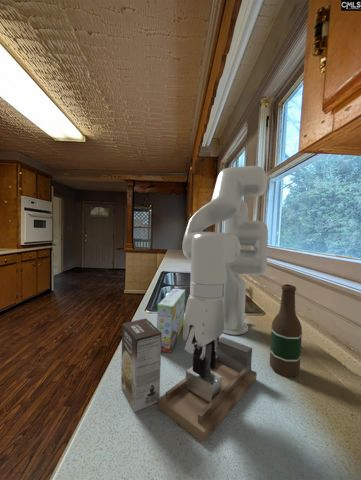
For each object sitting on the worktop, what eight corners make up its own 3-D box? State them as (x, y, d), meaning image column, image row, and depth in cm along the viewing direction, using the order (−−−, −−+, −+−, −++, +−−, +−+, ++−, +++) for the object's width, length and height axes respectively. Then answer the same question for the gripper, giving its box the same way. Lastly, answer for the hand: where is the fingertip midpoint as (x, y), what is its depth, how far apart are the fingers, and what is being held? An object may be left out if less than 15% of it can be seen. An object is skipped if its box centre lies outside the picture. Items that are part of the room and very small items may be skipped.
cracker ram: (196, 379, 56) (197, 335, 56) (221, 393, 52) (223, 345, 51) (185, 387, 53) (187, 340, 52) (211, 403, 49) (213, 352, 48)
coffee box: (119, 387, 56) (120, 322, 55) (144, 378, 59) (145, 317, 59) (133, 413, 48) (135, 338, 47) (161, 402, 52) (163, 331, 51)
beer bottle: (301, 381, 60) (307, 290, 59) (269, 373, 63) (274, 287, 62) (297, 365, 68) (302, 284, 66) (269, 359, 70) (273, 281, 69)
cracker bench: (216, 361, 68) (217, 335, 68) (256, 379, 60) (257, 350, 60) (157, 408, 50) (158, 372, 50) (203, 442, 42) (204, 400, 42)
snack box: (172, 353, 72) (173, 306, 71) (154, 351, 73) (156, 304, 72) (184, 326, 92) (185, 288, 92) (170, 324, 94) (172, 287, 93)
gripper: (212, 280, 60) (210, 350, 61) (169, 292, 47) (166, 379, 48) (239, 286, 55) (236, 361, 56) (198, 301, 42) (195, 397, 43)
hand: (204, 369), depth 52 cm, fingers closed on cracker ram, 3 cm apart
